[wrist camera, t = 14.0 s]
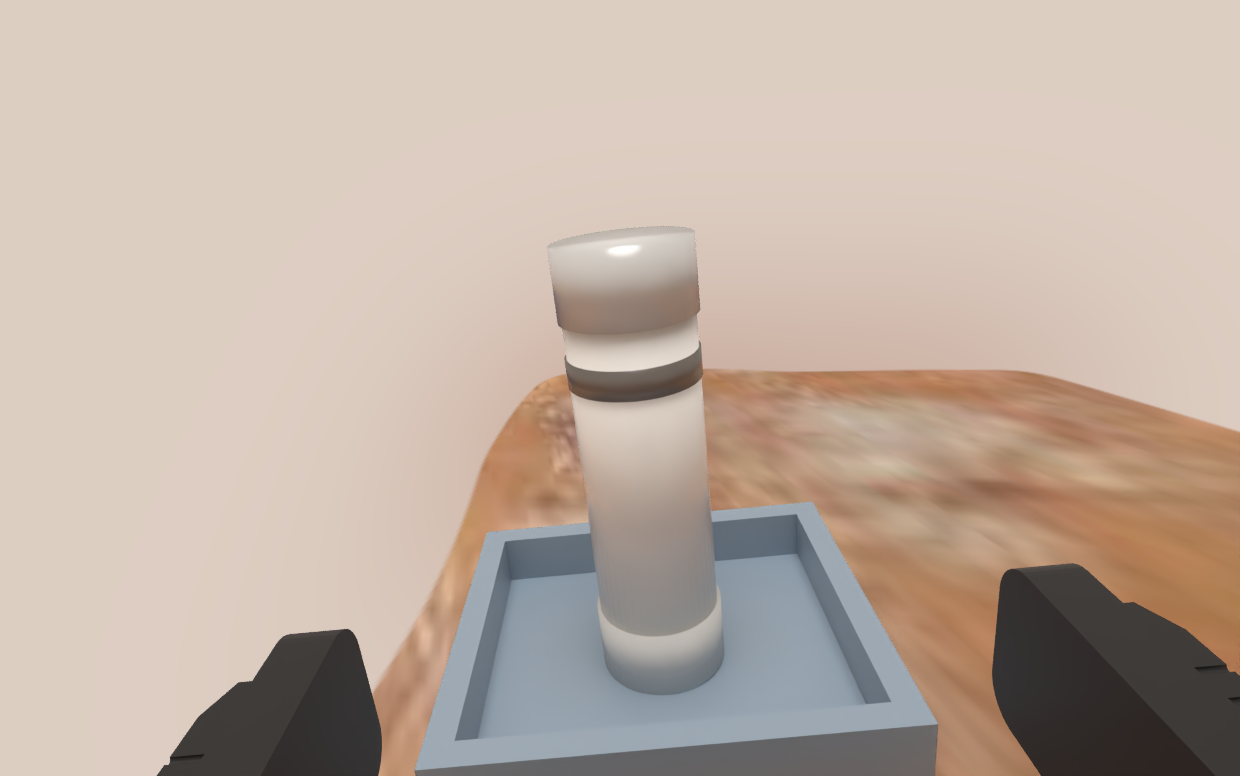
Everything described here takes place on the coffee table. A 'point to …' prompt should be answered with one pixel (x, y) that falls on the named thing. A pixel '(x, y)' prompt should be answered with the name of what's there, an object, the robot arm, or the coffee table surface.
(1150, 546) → the coffee table surface
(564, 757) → the parts tray
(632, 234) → the fuse
